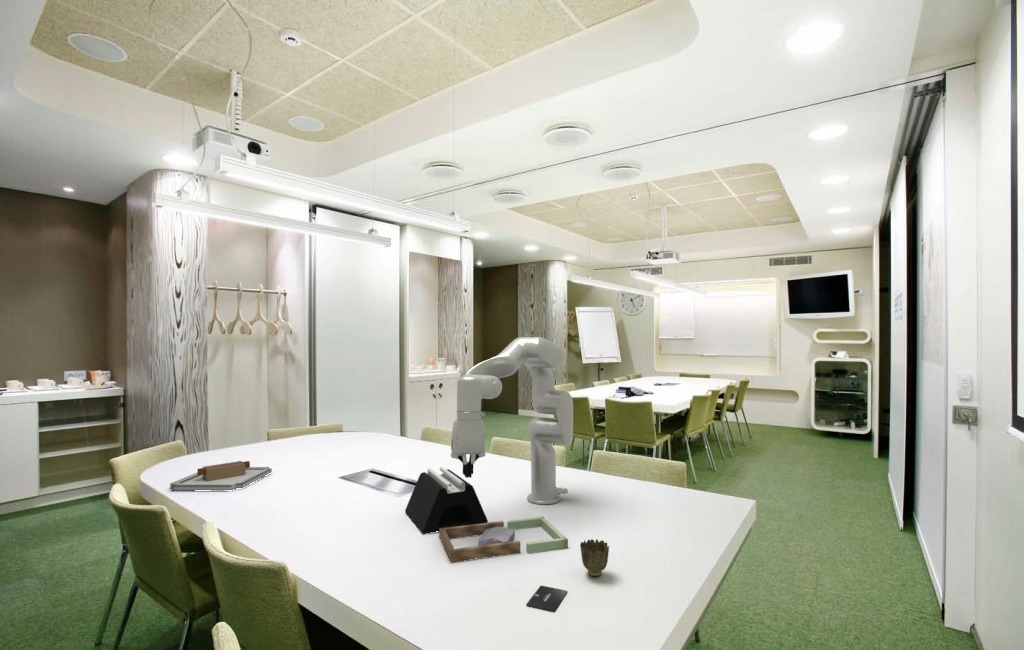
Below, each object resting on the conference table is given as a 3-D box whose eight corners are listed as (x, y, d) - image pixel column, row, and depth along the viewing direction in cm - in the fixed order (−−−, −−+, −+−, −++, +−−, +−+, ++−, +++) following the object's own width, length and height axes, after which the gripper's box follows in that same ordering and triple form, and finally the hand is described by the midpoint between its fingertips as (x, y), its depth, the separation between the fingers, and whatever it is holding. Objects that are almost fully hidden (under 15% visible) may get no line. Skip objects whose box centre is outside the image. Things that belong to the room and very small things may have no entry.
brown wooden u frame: (502, 530, 158) (502, 520, 158) (520, 552, 141) (520, 542, 141) (439, 538, 152) (439, 528, 152) (449, 562, 135) (449, 551, 135)
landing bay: (543, 524, 163) (543, 516, 164) (568, 547, 144) (567, 539, 145) (507, 528, 160) (507, 520, 160) (528, 553, 141) (528, 544, 141)
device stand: (422, 535, 155) (422, 487, 156) (405, 513, 175) (405, 471, 176) (487, 523, 165) (487, 478, 165) (464, 504, 185) (464, 464, 186)
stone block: (477, 557, 142) (510, 553, 141) (474, 541, 143) (507, 536, 141) (487, 543, 154) (517, 538, 152) (484, 527, 155) (514, 523, 153)
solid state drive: (525, 607, 112) (525, 604, 112) (540, 587, 122) (540, 585, 122) (554, 614, 110) (554, 611, 110) (567, 593, 119) (567, 590, 119)
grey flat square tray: (237, 493, 201) (238, 474, 201) (165, 492, 202) (166, 474, 202) (274, 473, 231) (274, 457, 231) (211, 473, 232) (211, 457, 232)
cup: (577, 569, 131) (577, 539, 131) (604, 568, 131) (604, 538, 131) (584, 583, 123) (583, 550, 123) (612, 581, 124) (612, 549, 124)
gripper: (489, 414, 157) (488, 472, 156) (442, 415, 153) (441, 475, 152) (495, 417, 150) (494, 478, 149) (446, 418, 146) (445, 481, 145)
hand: (467, 476), depth 151 cm, fingers closed
